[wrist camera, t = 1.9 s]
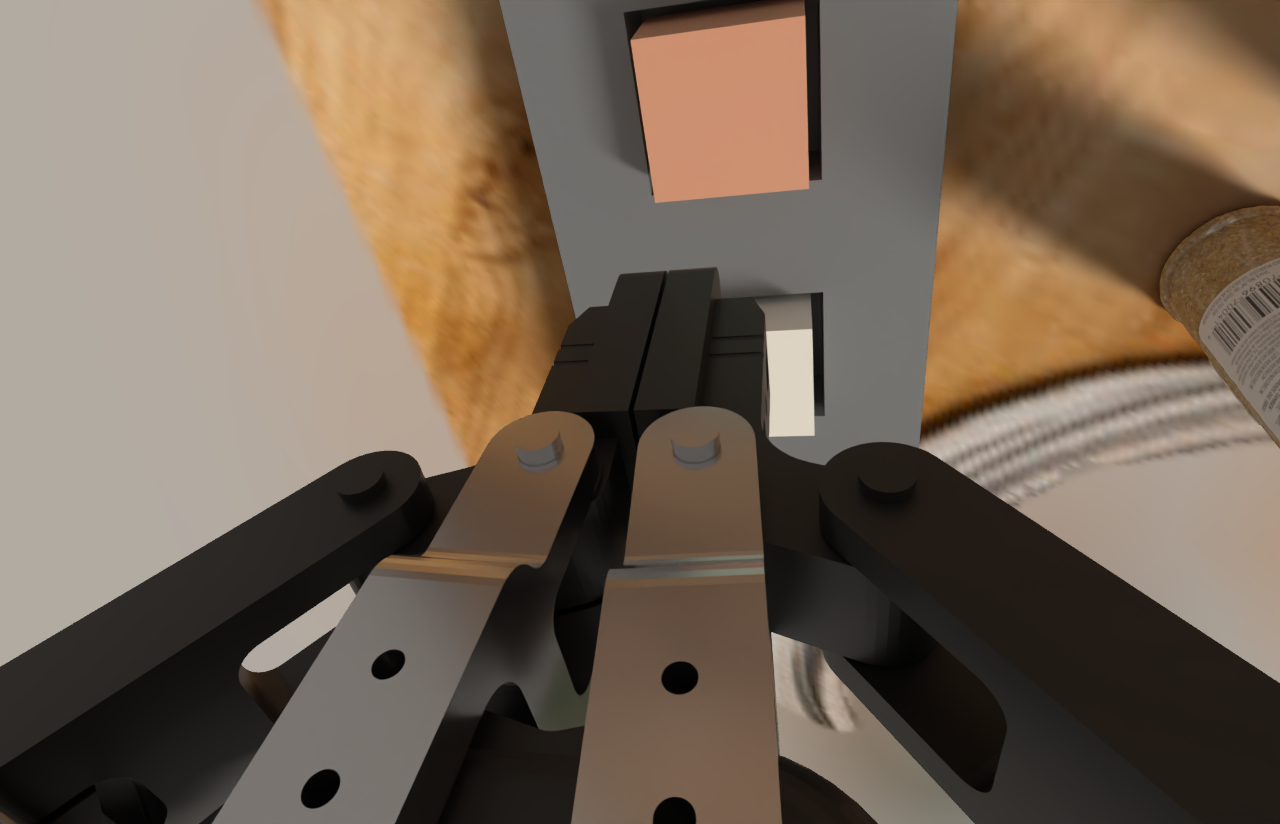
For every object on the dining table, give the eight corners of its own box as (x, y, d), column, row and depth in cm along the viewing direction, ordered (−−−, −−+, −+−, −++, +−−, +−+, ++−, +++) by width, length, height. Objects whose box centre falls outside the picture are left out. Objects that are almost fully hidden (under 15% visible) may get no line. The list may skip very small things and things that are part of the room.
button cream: (810, 285, 26) (812, 328, 24) (812, 388, 28) (814, 435, 26) (684, 293, 27) (675, 335, 25) (697, 392, 29) (691, 438, 27)
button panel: (996, -807, 14) (1038, -934, 11) (907, 423, 31) (916, 473, 29) (402, -597, 16) (339, -665, 14) (625, 430, 34) (613, 476, 31)
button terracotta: (803, -6, 20) (805, 15, 18) (807, 153, 23) (809, 189, 21) (646, 17, 21) (630, 40, 19) (667, 167, 24) (655, 203, 22)
